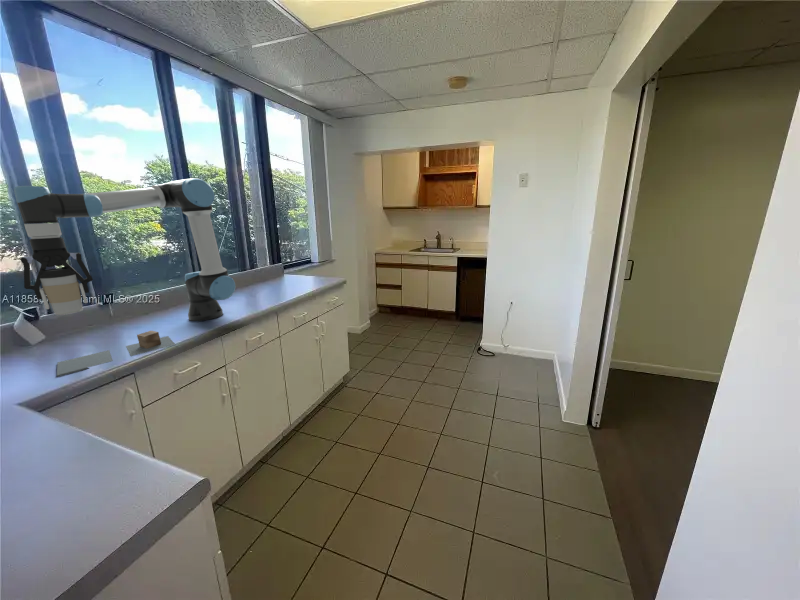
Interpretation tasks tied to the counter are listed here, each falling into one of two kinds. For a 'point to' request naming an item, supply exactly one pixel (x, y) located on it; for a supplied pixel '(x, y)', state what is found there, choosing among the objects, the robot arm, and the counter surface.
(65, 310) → the coffee cup
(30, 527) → the counter surface
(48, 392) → the counter surface
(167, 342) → the pad
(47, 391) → the counter surface
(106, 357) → the pad
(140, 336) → the walnut block
